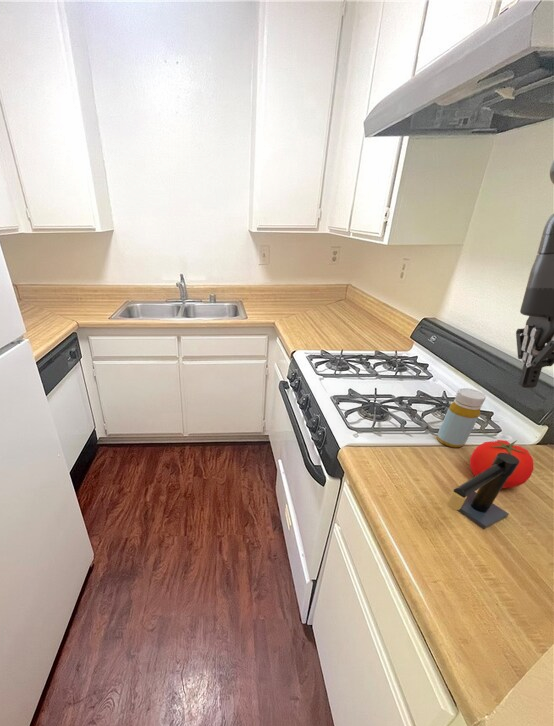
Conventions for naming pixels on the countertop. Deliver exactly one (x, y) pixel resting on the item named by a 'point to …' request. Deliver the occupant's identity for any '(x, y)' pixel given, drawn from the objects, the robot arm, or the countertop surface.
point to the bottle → (461, 418)
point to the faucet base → (485, 504)
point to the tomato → (488, 453)
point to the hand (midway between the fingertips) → (526, 386)
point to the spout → (483, 479)
